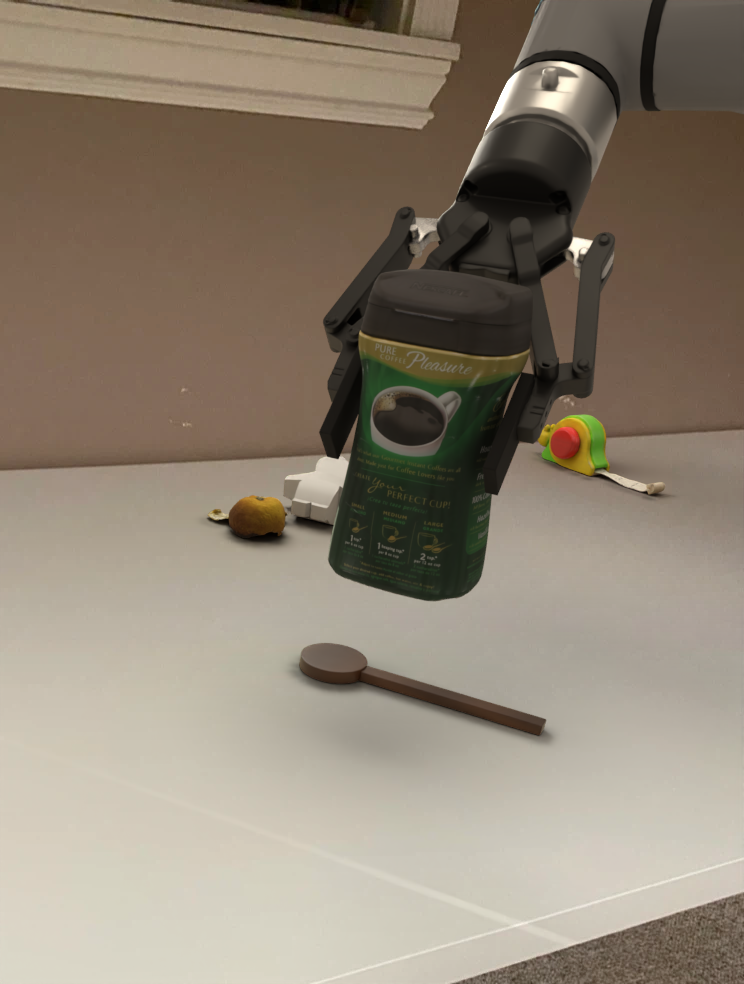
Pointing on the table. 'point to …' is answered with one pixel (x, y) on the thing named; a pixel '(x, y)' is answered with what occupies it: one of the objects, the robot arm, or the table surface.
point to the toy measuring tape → (584, 450)
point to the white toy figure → (317, 490)
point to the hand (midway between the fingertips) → (407, 463)
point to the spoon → (405, 685)
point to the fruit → (254, 516)
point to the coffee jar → (428, 430)
